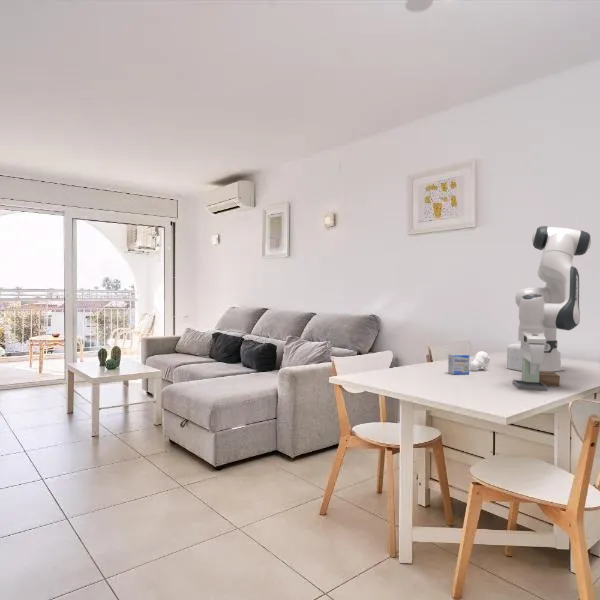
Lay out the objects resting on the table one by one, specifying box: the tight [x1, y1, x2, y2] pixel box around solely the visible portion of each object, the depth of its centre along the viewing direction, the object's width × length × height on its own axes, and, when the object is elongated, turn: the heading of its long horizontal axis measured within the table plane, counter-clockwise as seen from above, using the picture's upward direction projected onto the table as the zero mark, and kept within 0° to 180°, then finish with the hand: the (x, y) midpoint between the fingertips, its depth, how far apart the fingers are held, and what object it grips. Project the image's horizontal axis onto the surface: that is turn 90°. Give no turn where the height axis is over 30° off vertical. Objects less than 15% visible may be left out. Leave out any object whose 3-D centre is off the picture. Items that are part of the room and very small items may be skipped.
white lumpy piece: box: [469, 350, 491, 372], centre depth 213 cm, size 6×8×12 cm
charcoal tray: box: [512, 379, 549, 392], centre depth 175 cm, size 10×10×2 cm
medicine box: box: [447, 353, 470, 376], centre depth 202 cm, size 8×4×9 cm, turn 101°
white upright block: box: [506, 343, 523, 372], centre depth 214 cm, size 10×4×12 cm, turn 28°
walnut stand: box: [539, 371, 561, 387], centre depth 184 cm, size 10×10×4 cm
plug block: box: [521, 359, 539, 382], centre depth 174 cm, size 5×5×8 cm
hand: (530, 372), depth 174 cm, fingers closed on plug block, 5 cm apart
